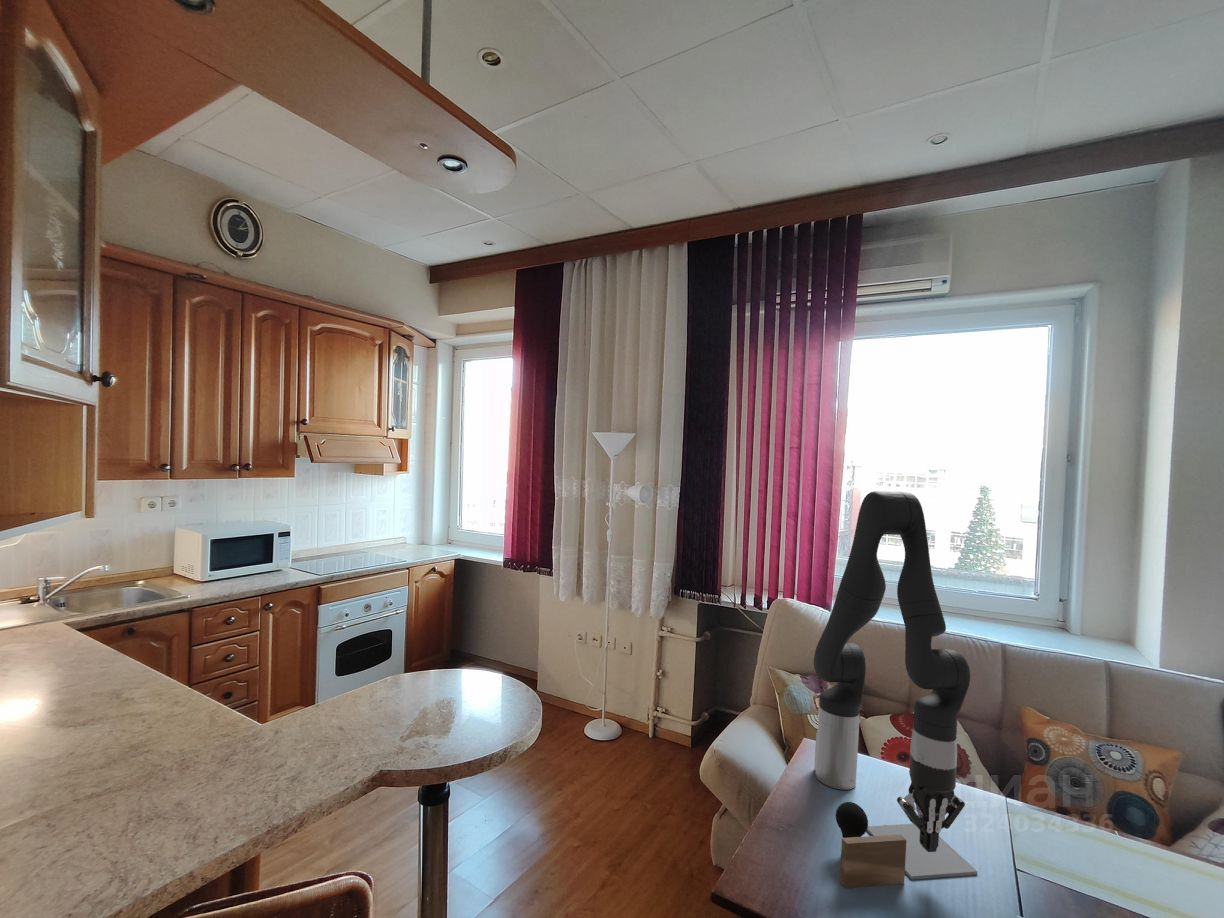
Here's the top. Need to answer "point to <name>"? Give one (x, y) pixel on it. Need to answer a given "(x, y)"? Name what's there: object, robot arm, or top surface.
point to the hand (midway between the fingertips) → (928, 848)
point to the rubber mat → (925, 854)
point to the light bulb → (851, 820)
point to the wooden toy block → (872, 860)
